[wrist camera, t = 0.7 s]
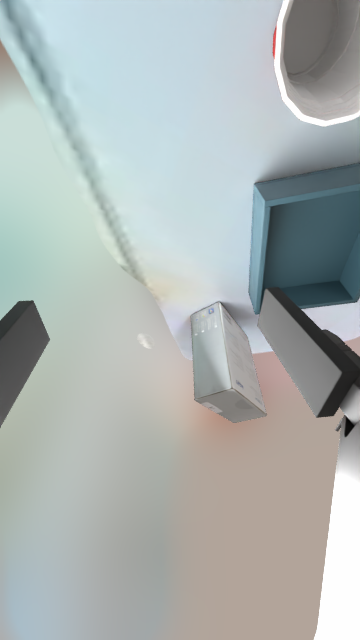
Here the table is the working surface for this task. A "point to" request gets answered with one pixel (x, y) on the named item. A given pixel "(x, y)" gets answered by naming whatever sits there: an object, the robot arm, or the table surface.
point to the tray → (307, 238)
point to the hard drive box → (224, 366)
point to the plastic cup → (319, 59)
